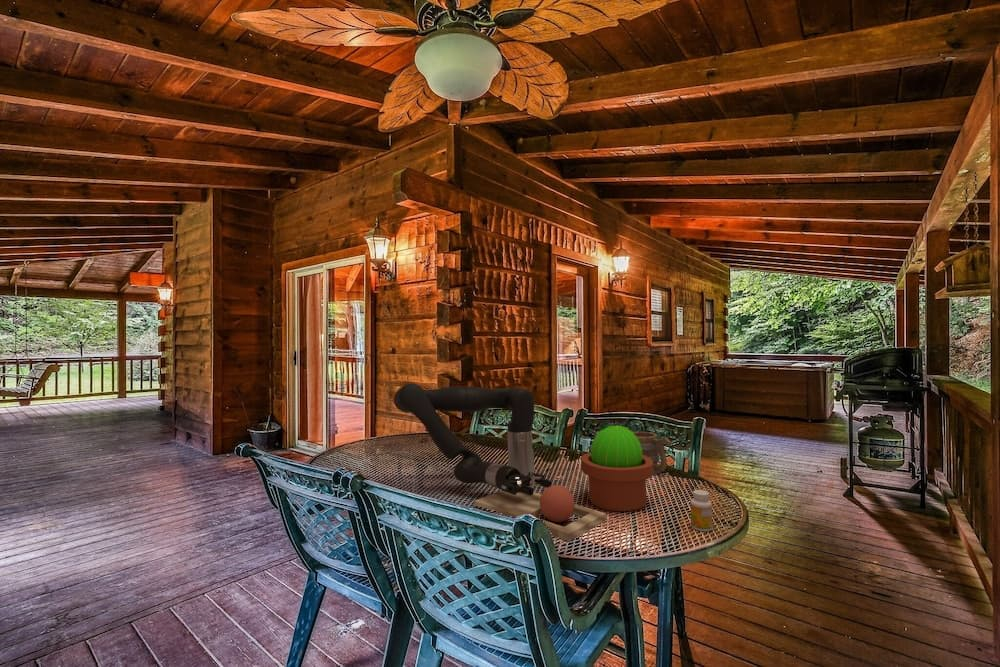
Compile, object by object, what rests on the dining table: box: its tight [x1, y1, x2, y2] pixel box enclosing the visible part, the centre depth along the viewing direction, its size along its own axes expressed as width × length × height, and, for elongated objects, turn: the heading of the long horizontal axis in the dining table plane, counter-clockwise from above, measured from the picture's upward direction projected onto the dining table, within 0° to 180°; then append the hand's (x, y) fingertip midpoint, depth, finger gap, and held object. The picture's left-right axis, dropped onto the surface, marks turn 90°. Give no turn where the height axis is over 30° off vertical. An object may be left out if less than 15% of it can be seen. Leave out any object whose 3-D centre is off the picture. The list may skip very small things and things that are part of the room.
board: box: [474, 490, 607, 542], centre depth 139 cm, size 18×36×2 cm, turn 46°
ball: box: [540, 484, 576, 523], centre depth 133 cm, size 10×10×10 cm
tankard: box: [632, 431, 672, 476], centre depth 176 cm, size 20×13×15 cm, turn 23°
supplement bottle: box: [690, 489, 713, 532], centre depth 127 cm, size 5×5×10 cm
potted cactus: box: [580, 423, 654, 512], centre depth 147 cm, size 22×22×25 cm
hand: (541, 488), depth 138 cm, fingers open, 8 cm apart
